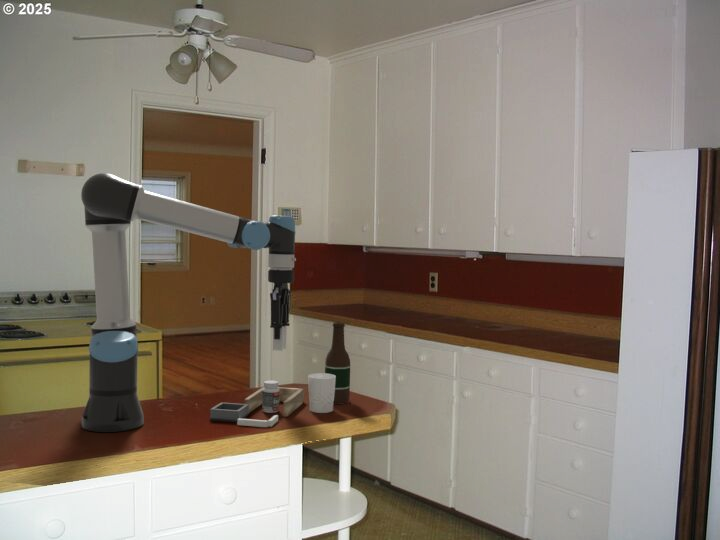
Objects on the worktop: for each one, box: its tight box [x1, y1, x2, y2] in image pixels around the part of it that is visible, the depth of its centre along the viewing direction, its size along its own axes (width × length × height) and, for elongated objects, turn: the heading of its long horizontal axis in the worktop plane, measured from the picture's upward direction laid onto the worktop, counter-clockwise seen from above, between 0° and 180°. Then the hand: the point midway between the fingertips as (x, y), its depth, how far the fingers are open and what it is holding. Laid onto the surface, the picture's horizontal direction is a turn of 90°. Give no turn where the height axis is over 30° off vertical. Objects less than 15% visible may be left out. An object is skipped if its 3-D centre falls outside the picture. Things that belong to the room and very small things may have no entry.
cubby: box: [244, 386, 305, 417], centre depth 210 cm, size 12×18×4 cm
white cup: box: [307, 372, 336, 414], centre depth 208 cm, size 8×8×10 cm
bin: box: [209, 402, 250, 423], centre depth 198 cm, size 8×8×3 cm
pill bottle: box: [261, 380, 280, 414], centre depth 206 cm, size 5×5×8 cm
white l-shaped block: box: [236, 414, 279, 428], centre depth 193 cm, size 9×7×2 cm
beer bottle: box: [324, 321, 351, 405], centre depth 220 cm, size 8×8×24 cm
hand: (279, 349), depth 213 cm, fingers open, 3 cm apart
